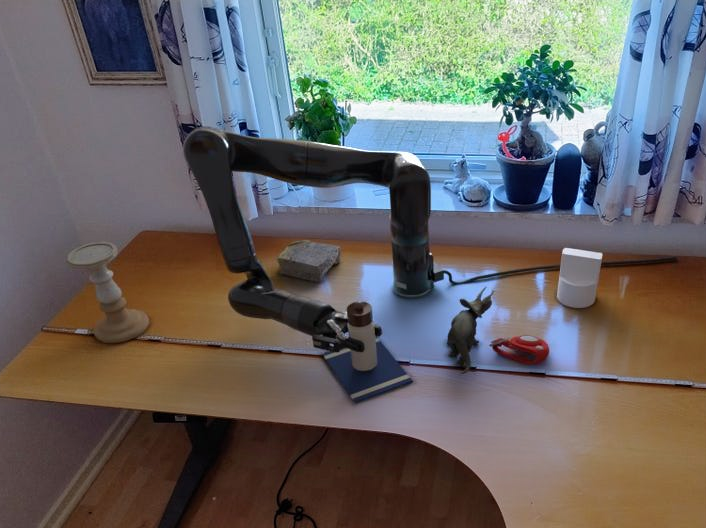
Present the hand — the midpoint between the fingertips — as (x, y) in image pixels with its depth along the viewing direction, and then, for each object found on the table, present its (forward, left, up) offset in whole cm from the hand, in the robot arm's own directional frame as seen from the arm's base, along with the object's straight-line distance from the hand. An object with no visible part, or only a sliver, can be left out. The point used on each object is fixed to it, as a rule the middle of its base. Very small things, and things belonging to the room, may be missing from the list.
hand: (372, 339), depth 127 cm
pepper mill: (+1, -2, -7) cm, 7 cm away
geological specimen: (-3, -48, -9) cm, 49 cm away
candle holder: (+45, -45, -9) cm, 64 cm away
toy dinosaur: (-19, +4, -9) cm, 21 cm away
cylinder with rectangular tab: (-54, -1, -9) cm, 55 cm away
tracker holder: (-30, +10, -9) cm, 33 cm away
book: (+1, -2, -9) cm, 9 cm away
